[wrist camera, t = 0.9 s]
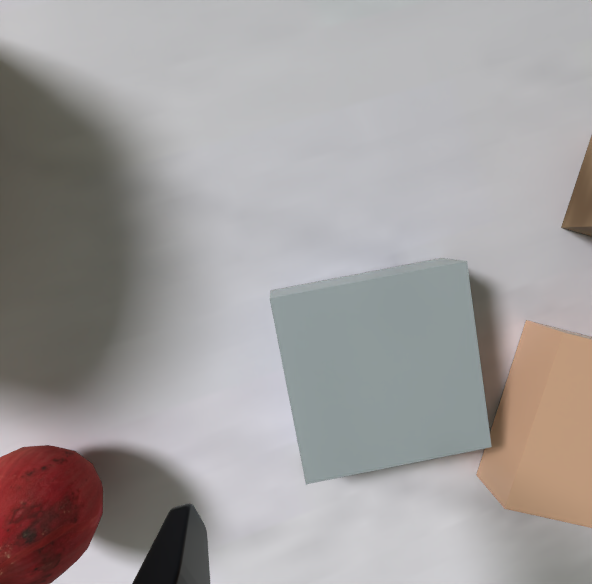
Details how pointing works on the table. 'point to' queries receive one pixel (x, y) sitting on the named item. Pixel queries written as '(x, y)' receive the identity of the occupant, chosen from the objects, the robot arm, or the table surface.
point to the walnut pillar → (581, 199)
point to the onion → (45, 512)
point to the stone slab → (382, 368)
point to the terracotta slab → (544, 428)
